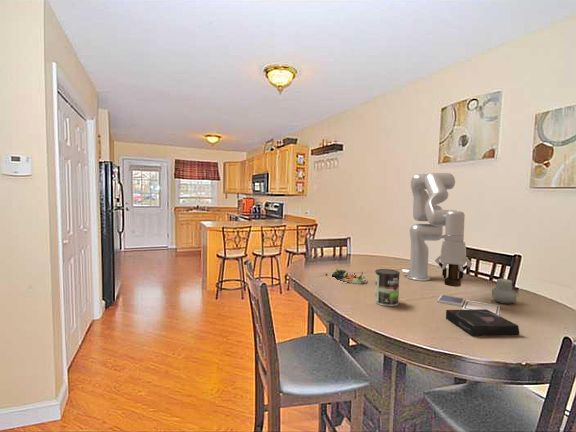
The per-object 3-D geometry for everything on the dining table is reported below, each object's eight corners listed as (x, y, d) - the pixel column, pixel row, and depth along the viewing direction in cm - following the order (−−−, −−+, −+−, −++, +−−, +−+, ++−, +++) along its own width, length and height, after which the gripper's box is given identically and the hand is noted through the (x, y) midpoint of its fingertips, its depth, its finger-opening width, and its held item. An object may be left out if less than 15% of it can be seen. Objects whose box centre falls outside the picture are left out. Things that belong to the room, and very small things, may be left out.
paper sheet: (462, 309, 142) (462, 308, 142) (466, 300, 154) (466, 299, 154) (498, 316, 134) (498, 315, 134) (500, 306, 147) (500, 305, 147)
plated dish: (385, 288, 176) (385, 274, 175) (333, 290, 172) (333, 276, 172) (361, 273, 211) (361, 261, 210) (317, 274, 207) (317, 263, 206)
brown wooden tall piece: (459, 284, 154) (461, 244, 153) (461, 287, 148) (463, 246, 147) (443, 282, 156) (445, 243, 155) (445, 286, 150) (446, 245, 149)
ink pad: (437, 302, 151) (437, 299, 151) (441, 296, 160) (441, 294, 160) (462, 306, 146) (462, 303, 146) (465, 300, 154) (465, 298, 154)
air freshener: (517, 306, 147) (518, 284, 146) (495, 304, 150) (496, 282, 149) (510, 299, 157) (511, 278, 156) (490, 297, 160) (491, 276, 159)
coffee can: (403, 304, 148) (404, 272, 147) (386, 307, 143) (387, 274, 142) (386, 297, 157) (387, 267, 156) (369, 300, 152) (370, 269, 151)
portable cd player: (519, 336, 116) (520, 325, 116) (471, 337, 115) (472, 326, 115) (487, 319, 133) (488, 309, 132) (445, 319, 131) (446, 309, 131)
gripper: (431, 238, 153) (430, 277, 154) (475, 241, 143) (473, 283, 144) (435, 236, 159) (433, 274, 160) (476, 239, 149) (474, 279, 150)
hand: (452, 278), depth 152 cm, fingers closed on brown wooden tall piece, 5 cm apart
